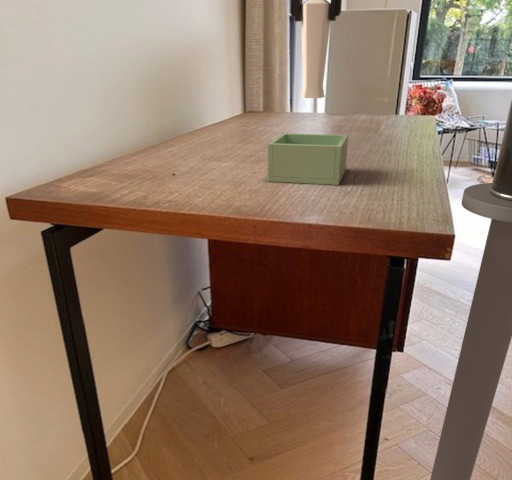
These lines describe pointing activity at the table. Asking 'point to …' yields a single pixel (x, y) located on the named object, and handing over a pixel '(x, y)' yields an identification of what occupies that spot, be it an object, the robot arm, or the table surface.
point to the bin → (307, 158)
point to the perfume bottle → (314, 46)
